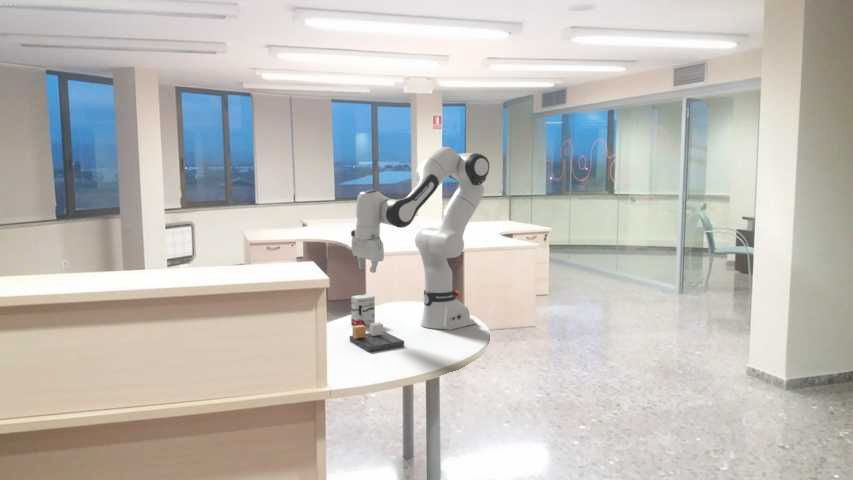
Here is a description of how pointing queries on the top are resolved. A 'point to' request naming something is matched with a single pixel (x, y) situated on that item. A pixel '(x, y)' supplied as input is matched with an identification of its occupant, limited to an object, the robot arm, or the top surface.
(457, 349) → the top surface
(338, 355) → the top surface
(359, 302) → the ink box
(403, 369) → the top surface
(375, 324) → the fader
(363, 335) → the fader
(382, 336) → the console
